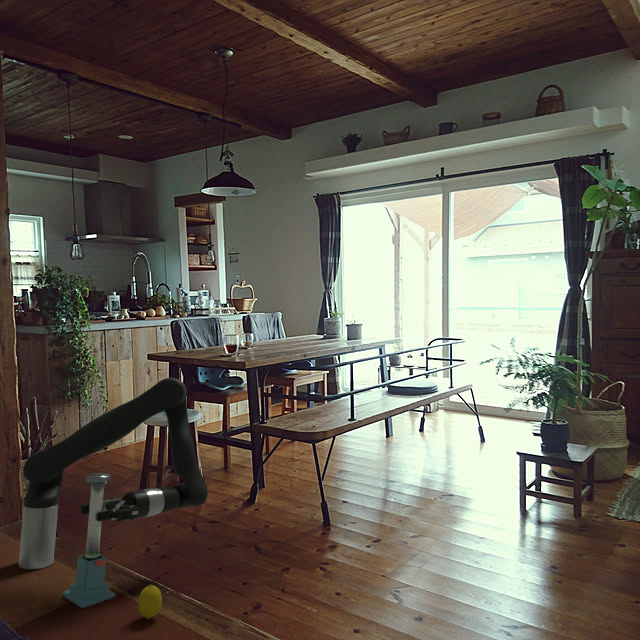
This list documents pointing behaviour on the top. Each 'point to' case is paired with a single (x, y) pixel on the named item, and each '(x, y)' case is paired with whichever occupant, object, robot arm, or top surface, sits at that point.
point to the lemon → (149, 601)
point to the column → (95, 513)
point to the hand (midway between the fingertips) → (88, 513)
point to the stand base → (89, 583)
